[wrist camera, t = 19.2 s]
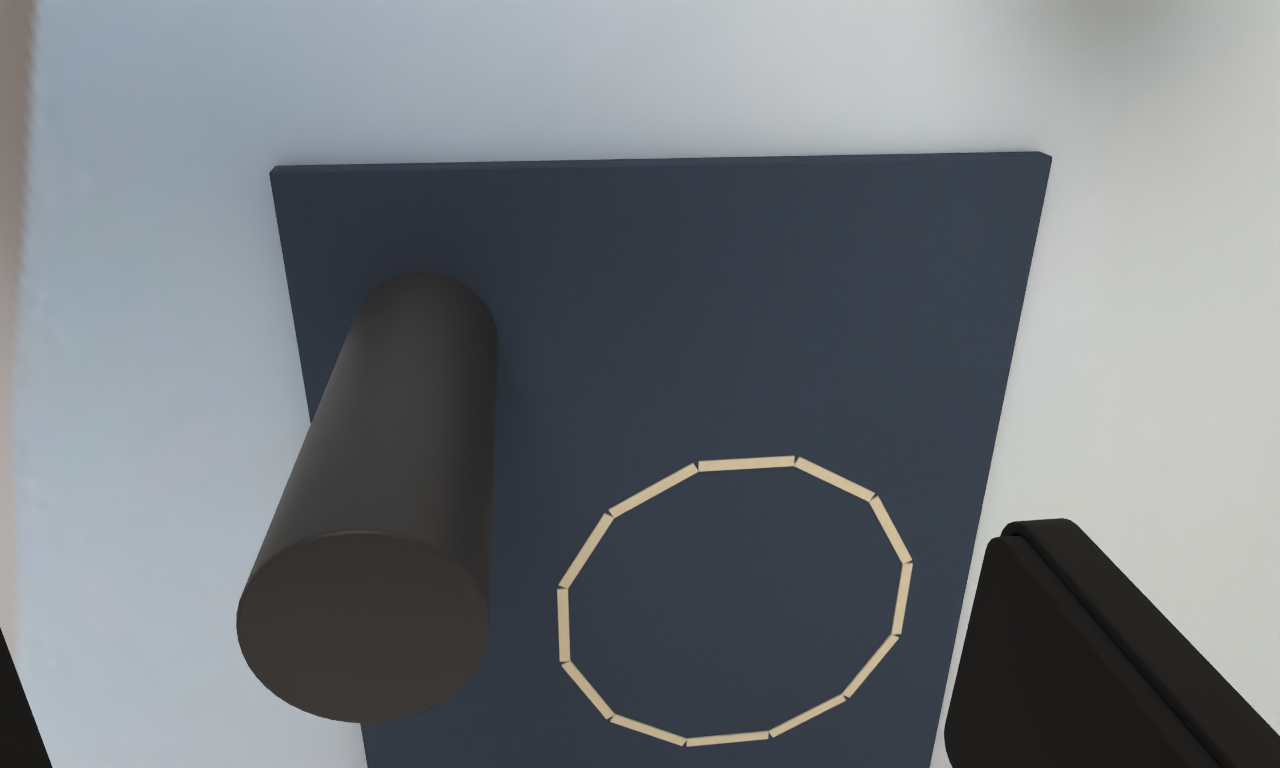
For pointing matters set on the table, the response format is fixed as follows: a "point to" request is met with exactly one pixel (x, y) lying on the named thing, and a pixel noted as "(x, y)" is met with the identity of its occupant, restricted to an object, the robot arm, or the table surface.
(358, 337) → the cylinder
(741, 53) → the table surface
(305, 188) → the desk mat
